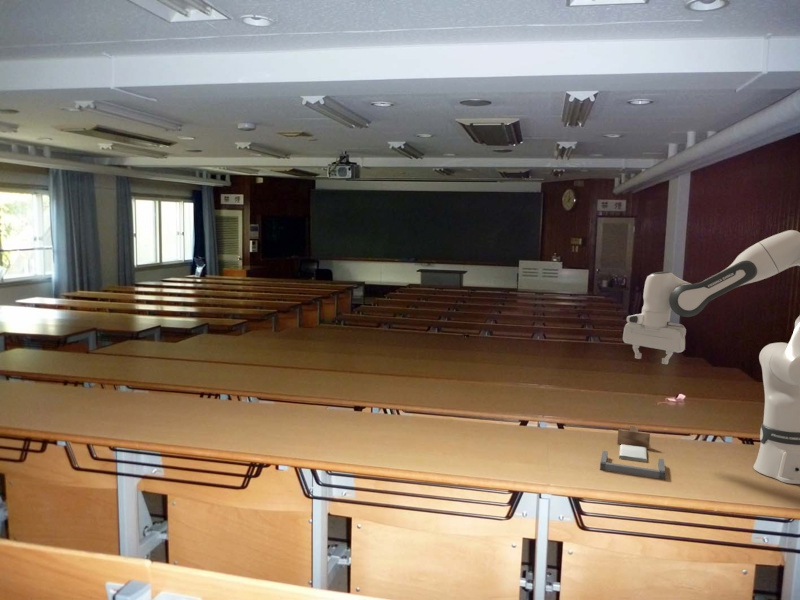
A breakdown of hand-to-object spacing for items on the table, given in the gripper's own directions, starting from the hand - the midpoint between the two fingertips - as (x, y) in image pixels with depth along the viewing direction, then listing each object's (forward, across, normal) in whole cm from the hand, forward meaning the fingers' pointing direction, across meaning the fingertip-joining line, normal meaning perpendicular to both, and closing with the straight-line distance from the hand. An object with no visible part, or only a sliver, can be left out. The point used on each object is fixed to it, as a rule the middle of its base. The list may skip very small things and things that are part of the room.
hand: (651, 361), depth 205 cm
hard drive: (+30, -2, +10) cm, 32 cm away
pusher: (+30, +4, -1) cm, 30 cm away
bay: (+30, -8, +22) cm, 38 cm away
